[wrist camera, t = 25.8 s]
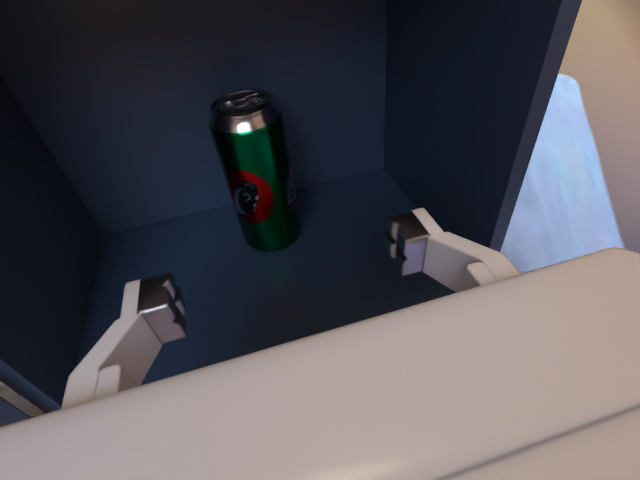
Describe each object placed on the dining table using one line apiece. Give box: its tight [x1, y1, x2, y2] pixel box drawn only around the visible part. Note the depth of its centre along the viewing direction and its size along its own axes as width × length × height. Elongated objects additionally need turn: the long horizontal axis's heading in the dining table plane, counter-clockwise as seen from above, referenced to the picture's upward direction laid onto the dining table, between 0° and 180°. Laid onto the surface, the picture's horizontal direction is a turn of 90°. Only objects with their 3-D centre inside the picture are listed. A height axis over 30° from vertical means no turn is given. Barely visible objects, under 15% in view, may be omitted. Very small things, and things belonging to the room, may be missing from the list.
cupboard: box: [0, 0, 582, 413], centre depth 24 cm, size 18×30×24 cm, turn 106°
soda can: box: [208, 89, 302, 252], centre depth 29 cm, size 5×5×12 cm
